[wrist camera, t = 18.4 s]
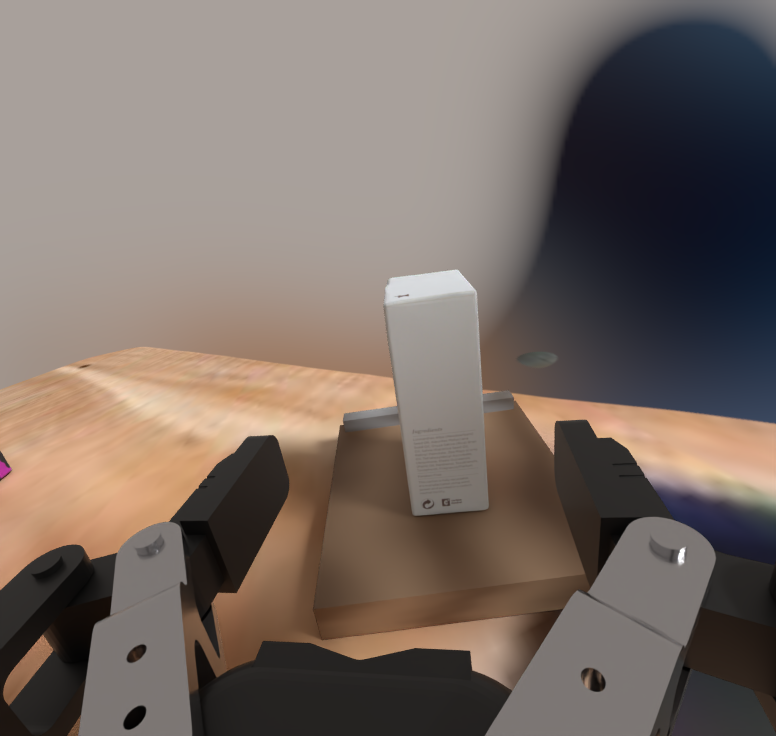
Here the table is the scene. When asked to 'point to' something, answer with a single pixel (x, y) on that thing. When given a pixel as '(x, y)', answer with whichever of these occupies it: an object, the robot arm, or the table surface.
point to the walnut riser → (442, 534)
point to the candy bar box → (4, 466)
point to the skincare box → (438, 390)
